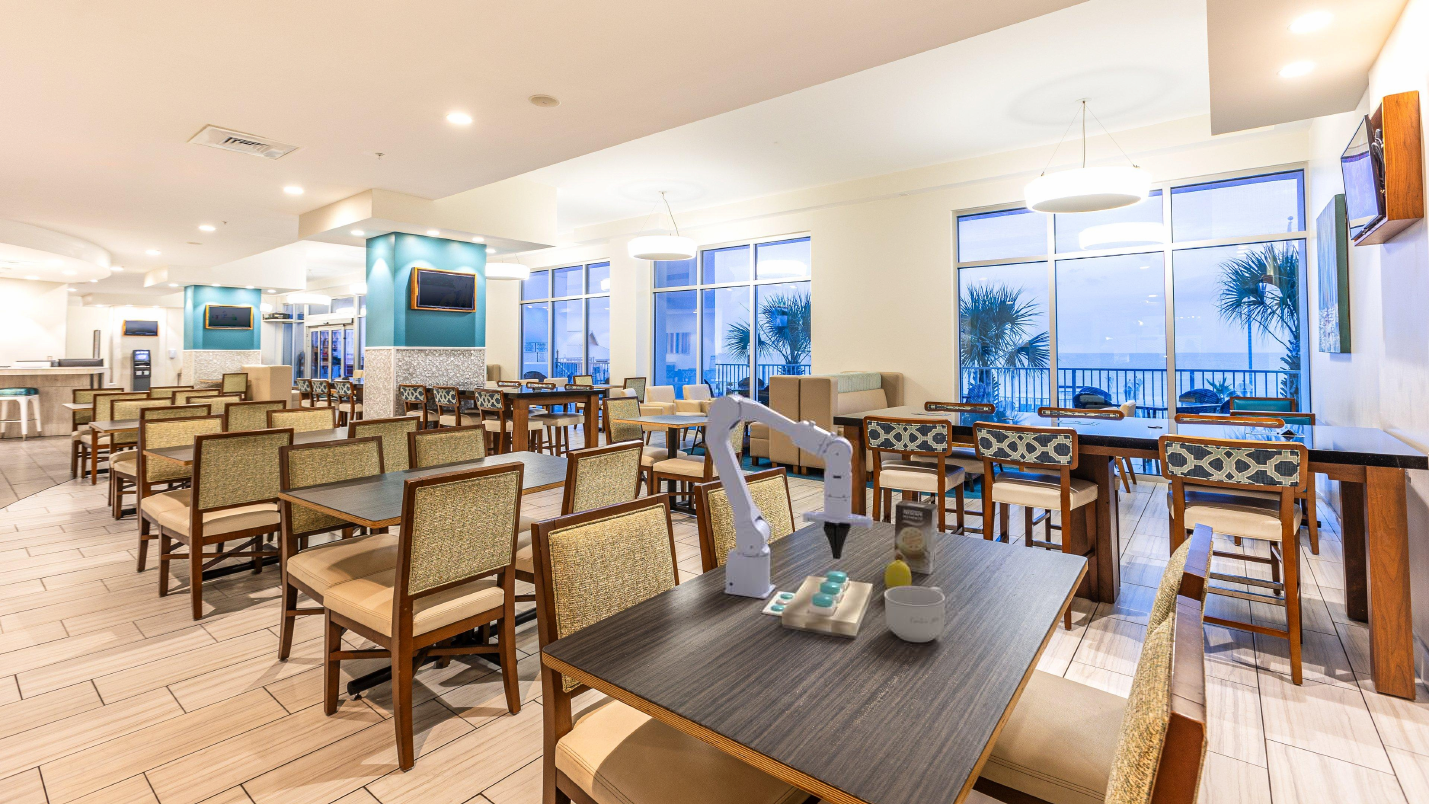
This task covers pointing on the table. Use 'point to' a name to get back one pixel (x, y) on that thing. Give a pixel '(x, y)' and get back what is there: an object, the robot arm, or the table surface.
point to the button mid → (832, 590)
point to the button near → (822, 604)
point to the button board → (840, 624)
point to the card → (778, 603)
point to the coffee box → (916, 535)
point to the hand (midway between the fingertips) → (837, 557)
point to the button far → (838, 579)
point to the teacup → (915, 612)
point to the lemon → (897, 575)
